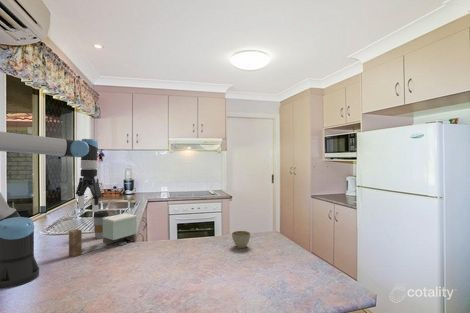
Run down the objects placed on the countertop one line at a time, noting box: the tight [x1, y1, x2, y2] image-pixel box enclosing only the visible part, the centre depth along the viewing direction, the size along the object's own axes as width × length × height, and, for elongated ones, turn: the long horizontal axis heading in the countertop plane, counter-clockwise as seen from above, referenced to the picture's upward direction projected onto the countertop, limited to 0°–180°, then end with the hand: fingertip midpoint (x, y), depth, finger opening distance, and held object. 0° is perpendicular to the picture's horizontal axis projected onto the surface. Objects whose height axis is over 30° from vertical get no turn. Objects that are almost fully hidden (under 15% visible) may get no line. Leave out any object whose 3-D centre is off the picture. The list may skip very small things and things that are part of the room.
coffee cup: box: [93, 210, 110, 240], centre depth 157 cm, size 8×8×15 cm
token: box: [116, 239, 128, 246], centre depth 145 cm, size 5×5×2 cm
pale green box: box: [102, 212, 138, 246], centre depth 146 cm, size 14×11×15 cm
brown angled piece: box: [68, 228, 107, 258], centre depth 134 cm, size 17×4×12 cm, turn 146°
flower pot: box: [231, 230, 251, 249], centre depth 141 cm, size 10×10×7 cm
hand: (87, 209), depth 136 cm, fingers open, 13 cm apart
